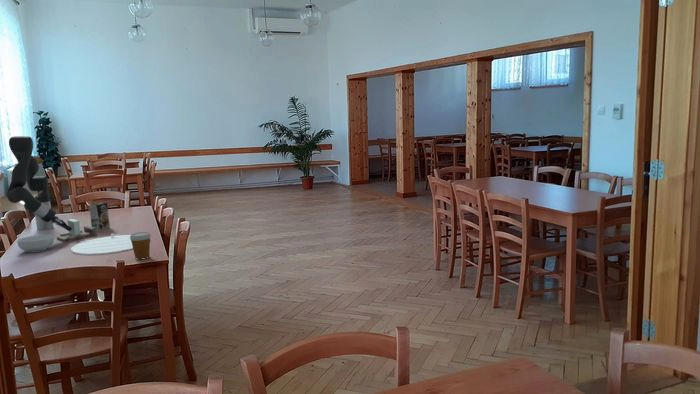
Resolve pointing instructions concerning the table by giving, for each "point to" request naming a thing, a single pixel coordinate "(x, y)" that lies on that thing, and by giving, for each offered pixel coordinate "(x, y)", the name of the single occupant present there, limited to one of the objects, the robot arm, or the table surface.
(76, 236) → the track
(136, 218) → the table surface
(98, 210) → the coffee box
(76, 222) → the pale green rectangular block
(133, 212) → the table surface
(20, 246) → the cereal bowl
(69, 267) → the table surface
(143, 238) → the beer glass
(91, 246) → the lazy susan
